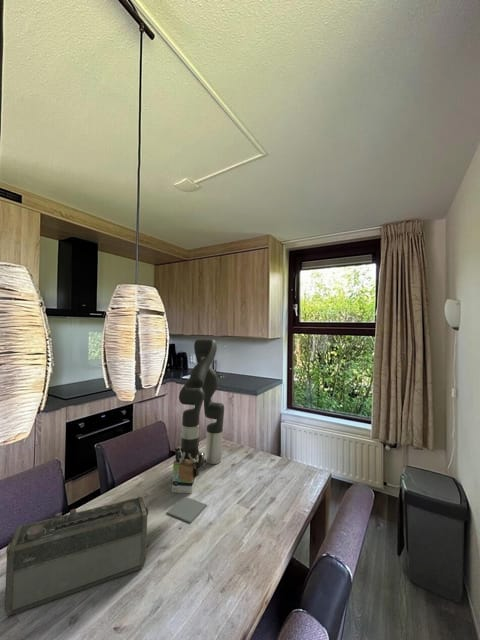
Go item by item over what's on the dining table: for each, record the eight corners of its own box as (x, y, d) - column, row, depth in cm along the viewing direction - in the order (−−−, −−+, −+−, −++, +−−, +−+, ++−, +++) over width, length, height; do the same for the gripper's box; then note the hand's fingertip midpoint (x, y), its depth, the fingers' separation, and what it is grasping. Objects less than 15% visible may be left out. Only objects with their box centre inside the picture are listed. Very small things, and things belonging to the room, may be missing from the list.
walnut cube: (186, 471, 123) (187, 458, 123) (198, 475, 120) (199, 461, 120) (178, 478, 117) (179, 464, 117) (190, 482, 115) (190, 467, 115)
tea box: (192, 494, 130) (193, 462, 130) (171, 492, 130) (172, 460, 130) (198, 476, 145) (199, 447, 145) (178, 475, 145) (180, 446, 145)
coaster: (184, 497, 127) (184, 496, 127) (206, 505, 121) (206, 504, 121) (166, 513, 116) (166, 512, 116) (190, 523, 111) (190, 521, 111)
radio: (-2, 623, 72) (1, 545, 73) (12, 577, 85) (15, 511, 85) (149, 568, 90) (151, 506, 90) (142, 537, 103) (144, 483, 103)
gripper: (209, 435, 119) (207, 474, 119) (181, 428, 125) (180, 466, 125) (199, 441, 113) (197, 483, 112) (171, 434, 119) (169, 474, 118)
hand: (188, 474), depth 119 cm, fingers closed on walnut cube, 6 cm apart
